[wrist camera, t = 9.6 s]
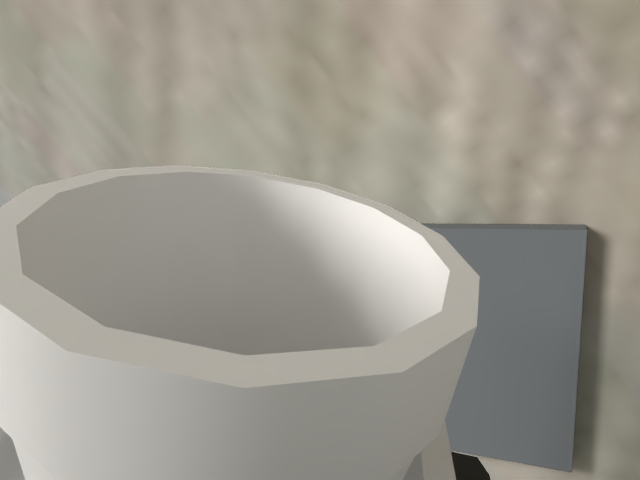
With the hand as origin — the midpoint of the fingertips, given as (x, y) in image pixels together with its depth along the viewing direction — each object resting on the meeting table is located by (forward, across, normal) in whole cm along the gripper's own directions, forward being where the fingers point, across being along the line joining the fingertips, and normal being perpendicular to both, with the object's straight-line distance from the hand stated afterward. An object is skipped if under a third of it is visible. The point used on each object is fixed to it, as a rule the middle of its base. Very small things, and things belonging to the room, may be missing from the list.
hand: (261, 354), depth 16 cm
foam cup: (-4, 0, -7) cm, 8 cm away
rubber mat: (+12, +6, -6) cm, 15 cm away
